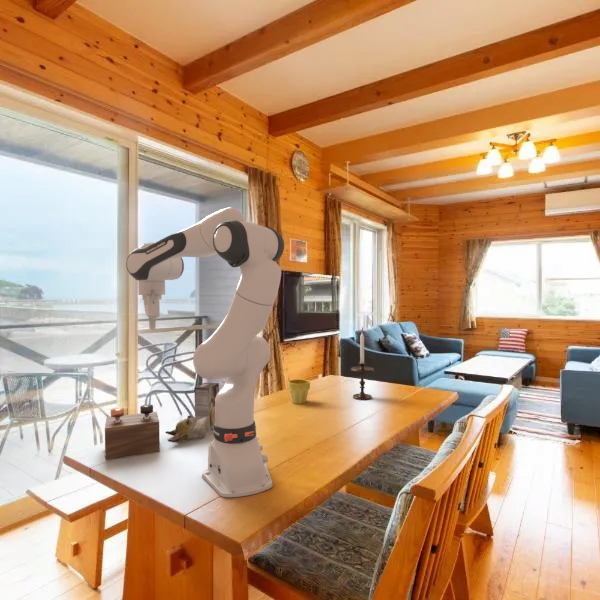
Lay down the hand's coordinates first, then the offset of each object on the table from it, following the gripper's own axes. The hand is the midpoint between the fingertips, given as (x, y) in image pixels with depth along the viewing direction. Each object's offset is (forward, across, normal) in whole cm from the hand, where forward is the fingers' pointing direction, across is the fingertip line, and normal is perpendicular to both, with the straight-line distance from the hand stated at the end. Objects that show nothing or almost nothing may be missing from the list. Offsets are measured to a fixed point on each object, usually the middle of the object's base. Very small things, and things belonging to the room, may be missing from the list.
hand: (152, 329), depth 142 cm
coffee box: (+39, +7, -20) cm, 45 cm away
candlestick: (+39, +18, -97) cm, 106 cm away
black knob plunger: (+38, -6, +2) cm, 39 cm away
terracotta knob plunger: (+38, -6, +11) cm, 40 cm away
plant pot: (+39, +24, -66) cm, 81 cm away
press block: (+39, -6, +7) cm, 40 cm away
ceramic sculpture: (+39, -4, -11) cm, 41 cm away
